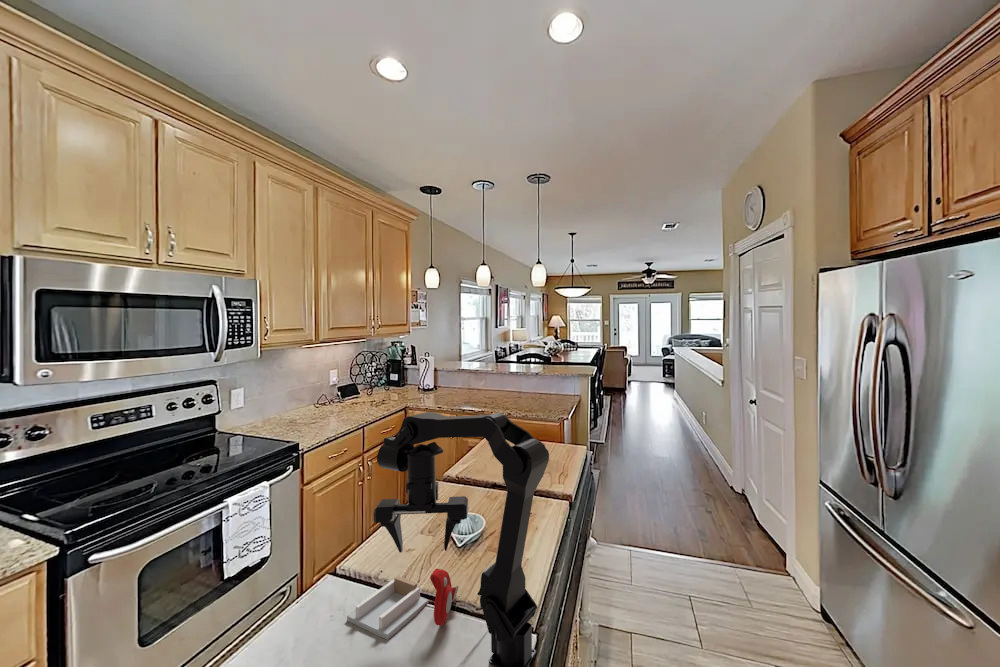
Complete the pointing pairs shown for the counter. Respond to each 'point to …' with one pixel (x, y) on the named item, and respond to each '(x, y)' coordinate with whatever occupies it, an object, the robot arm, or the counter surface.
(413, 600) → the grey walled tray
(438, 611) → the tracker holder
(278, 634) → the counter surface
